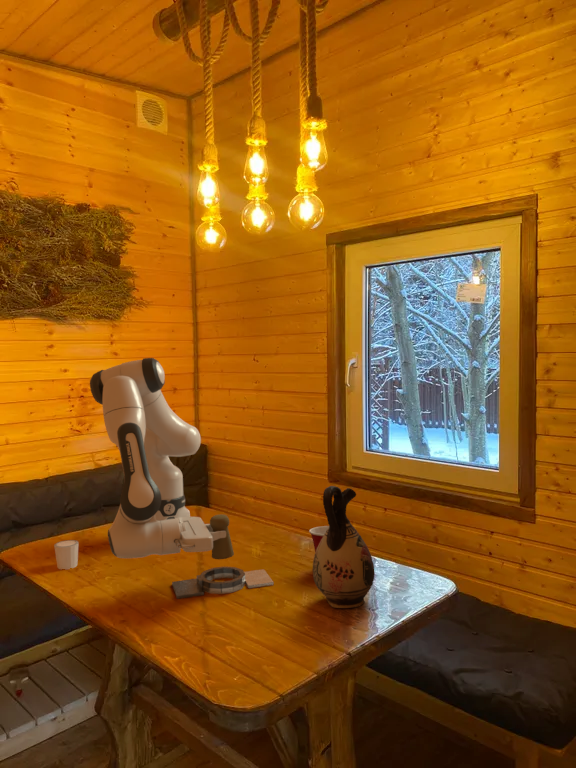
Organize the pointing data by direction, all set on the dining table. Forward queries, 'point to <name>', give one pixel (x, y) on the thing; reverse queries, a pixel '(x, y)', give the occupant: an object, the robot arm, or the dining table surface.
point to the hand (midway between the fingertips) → (223, 530)
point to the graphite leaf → (207, 582)
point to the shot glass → (66, 554)
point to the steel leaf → (251, 580)
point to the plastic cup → (318, 535)
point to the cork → (222, 545)
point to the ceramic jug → (342, 555)
